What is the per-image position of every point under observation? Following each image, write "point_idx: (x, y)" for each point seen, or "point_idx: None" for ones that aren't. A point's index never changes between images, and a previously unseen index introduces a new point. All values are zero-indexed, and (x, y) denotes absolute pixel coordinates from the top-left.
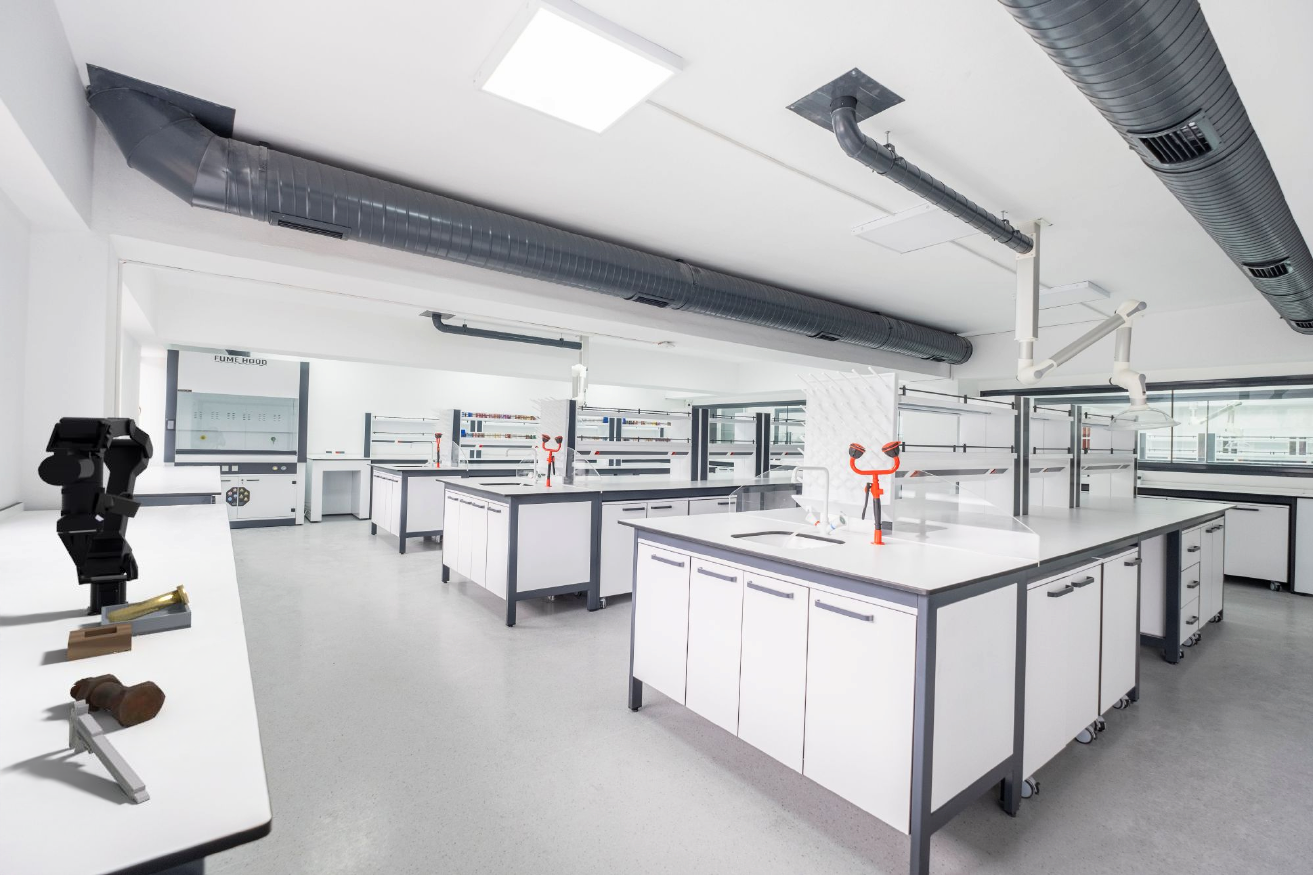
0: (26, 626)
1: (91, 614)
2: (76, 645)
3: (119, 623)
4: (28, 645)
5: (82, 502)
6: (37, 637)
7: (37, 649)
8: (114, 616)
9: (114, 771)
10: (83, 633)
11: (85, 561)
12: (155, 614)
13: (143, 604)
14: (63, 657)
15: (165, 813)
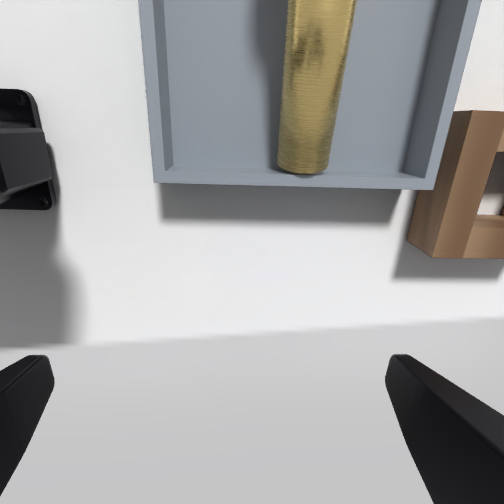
0: (103, 321)
1: (53, 197)
2: None
3: (443, 141)
4: (305, 307)
5: None
6: (240, 297)
7: (357, 291)
8: (330, 151)
9: None
10: (489, 230)
11: (436, 374)
12: (209, 9)
13: (345, 48)
14: None
15: None
